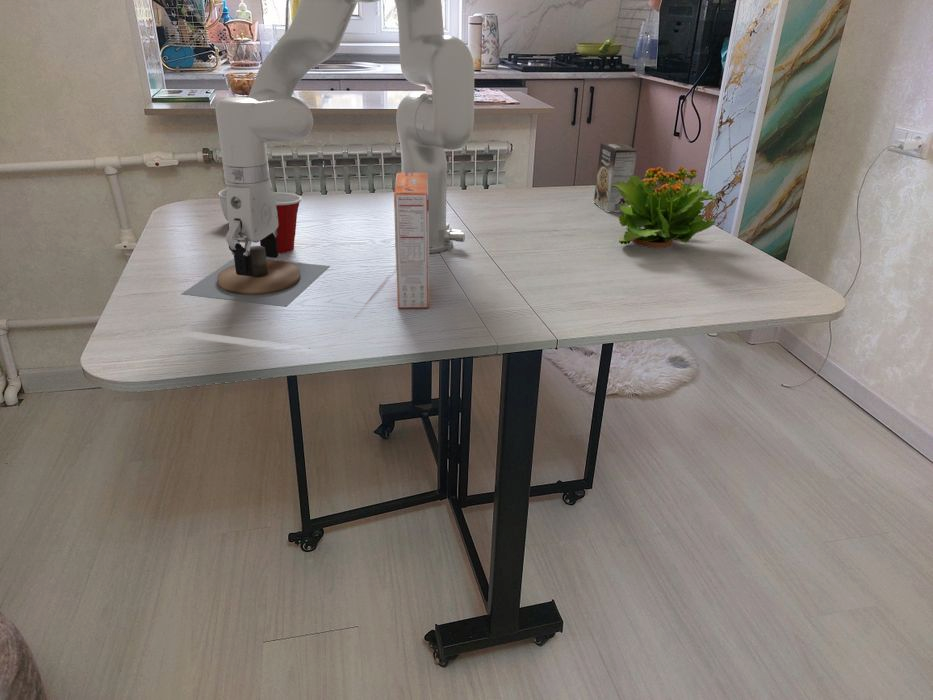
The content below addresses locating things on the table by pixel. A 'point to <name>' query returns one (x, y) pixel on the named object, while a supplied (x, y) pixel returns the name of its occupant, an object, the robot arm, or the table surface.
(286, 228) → the plastic cup
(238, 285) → the lid
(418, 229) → the cracker box
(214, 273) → the mat
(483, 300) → the table surface
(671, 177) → the potted flower
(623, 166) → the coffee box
